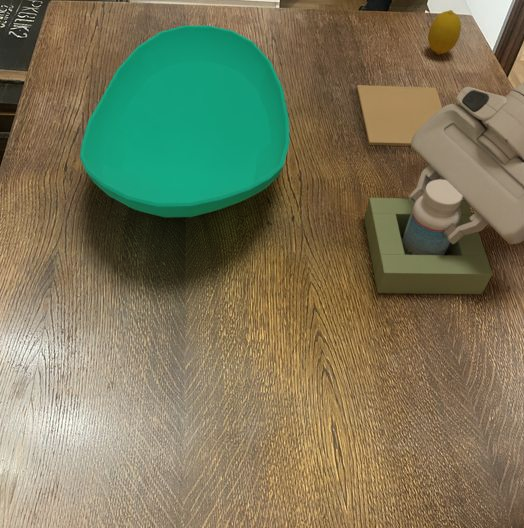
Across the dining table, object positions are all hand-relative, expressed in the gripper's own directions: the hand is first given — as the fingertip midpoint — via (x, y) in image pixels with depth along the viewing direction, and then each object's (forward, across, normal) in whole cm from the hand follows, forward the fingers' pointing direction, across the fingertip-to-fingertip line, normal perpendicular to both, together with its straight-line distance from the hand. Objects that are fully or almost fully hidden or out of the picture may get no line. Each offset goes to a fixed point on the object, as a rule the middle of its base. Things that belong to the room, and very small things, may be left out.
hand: (429, 220), depth 78 cm
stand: (+4, 0, -5) cm, 7 cm away
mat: (-8, +27, -17) cm, 33 cm away
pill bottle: (+4, 0, -5) cm, 7 cm away
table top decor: (+20, +27, +11) cm, 35 cm away
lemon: (-20, +41, -30) cm, 54 cm away
